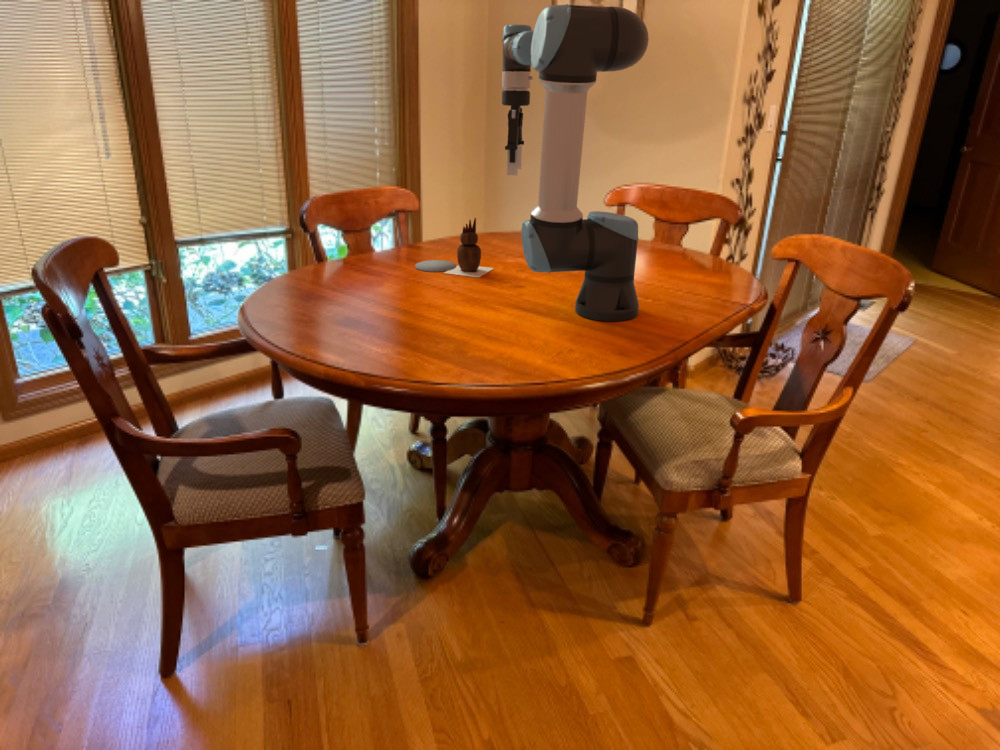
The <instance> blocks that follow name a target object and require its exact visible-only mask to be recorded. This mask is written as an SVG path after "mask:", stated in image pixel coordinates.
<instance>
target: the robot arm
mask: <svg viewBox="0 0 1000 750" xmlns="http://www.w3.org/2000/svg"><path fill="white" fill-rule="evenodd" d="M649 39H650V38H649V31H648V28H647V26H646V23H645V21H644V20H643V19H642V18H641V17H640V16H639V15H638V14H637V13H635V12H633V11H632V10H630V9H628V8H625V7H621V6H599V5H598V6H597V5H578V4H568V3H566V4H553V5H548V6H546V7H545V8H543V9H542V11H541V12H540V13H539V14H538V18H537V20H536V22H535V25H534V29H533V30H532V27H531V26H530V25H529V24H505V26H504V27H503V30H502V39H501V42H502V72H501V88H502V89H503V90H502V92H501V104H502V105H503V106H509V107H510V109H509V110H508V113H507V121H508V122H507V128H508V129H507V144H506V146H505V145H504V150H505V151H507V162H506V163H507V164H506V166H507V168H506V169H507V170H506V173H507V174H506V176H518V170H521V169H522V148H523V146H524V145H525V141H524V140H523V120H524V112H523V107H525V106H527V107H528V106H530V104H531V103H530V102H531V92H530V90H528V89H530V88H531V81H532V80H533V78H534V77H533V76H532V75H531V69H533V70H534V71H536V72H538V81H539V82H540V84H541V85H542V86H543V87H544V91H545V92H544V104H543V105H544V106H543V107H544V108H543V122H542V123H543V124H542V137H541V138H542V140H541V151H540V169H539V186H538V200H537V205H536V206H534V207H533V208H532V209H531V210H530V219H527V220H524V221H523V222H522V224H521V229H520V231H521V233H520V234H521V243H522V245H521V246H522V249H523V250H522V251H523V255H524V259H525V261H526V264H527V266H528V268H529V269H530V270H531V271H532V272H534V273H548V274H551V273H564V272H566V273H567V272H580V271H581V272H582V271H583V272H584V278H583V282H582V283H581V287H580V288H579V291H578V294H577V297H576V298H575V303H574V304H575V306H574V309H575V310H574V312H575V313H576V314H577V315H579V316H581V317H583V318H587V319H590V320H595V321H600V322H601V321H602V322H622V321H623V322H624V321H629V320H632V319H634V318H636V317H637V316H638V315H639V309H640V302H639V300H638V299H639V298H638V294H637V290H636V286H635V272H636V263H637V253H638V242H639V224H638V222H637V220H636V219H635V218H633V217H631V216H627V215H624V214H623V215H622V214H619V213H614V212H608V211H600V210H599V211H597V210H596V211H589V212H588V214H587V217H586V218H587V219H586V218H584V215H583V212H582V211H581V210H580V209H579V207H578V197H579V187H580V186H579V185H580V174H581V166H582V165H581V164H582V154H583V145H584V143H583V141H584V134H585V133H584V132H585V122H586V109H587V99H588V91H590V89H591V88H592V87H593V86H594V85H595V84H596V83H597V74H598V72H603V73H604V72H619V71H622V70H626V69H628V68H630V67H633V66H634V65H636V64H638V63H639V61H640V60H642V58H643V57H645V54H646V52H647V49H648V45H649ZM522 145H523V146H522Z"/></svg>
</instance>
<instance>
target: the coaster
mask: <svg viewBox="0 0 1000 750" xmlns="http://www.w3.org/2000/svg"><path fill="white" fill-rule="evenodd" d="M456 266H457V265H456V263H454V262H452V261H448V260H443V259H442V260H438V259H434V260H433V259H432V260H424V261H420V262H417V263H416V264H414V267H415V269H416V270H418V271H422V272H429V273H440V272H443V273H444V272H446V271H448V270H451V269H454V268H455V267H456Z"/></svg>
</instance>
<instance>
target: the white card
mask: <svg viewBox="0 0 1000 750" xmlns="http://www.w3.org/2000/svg"><path fill="white" fill-rule="evenodd" d="M494 269H495V268H494V267H488V266H480V265H479V267H478V269H477V270H476V271H472V272H466V271H463V270H461V269H460V267H459V264H458V265H456V267H455V268H454V269H451V270H448V271H443V274H447V275H456V276H462V277H463V276H464V277H472V278H480V277H482V276H484V275H486V274H487V273H489V272H491V271H492V270H494Z"/></svg>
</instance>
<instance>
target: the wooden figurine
mask: <svg viewBox="0 0 1000 750" xmlns="http://www.w3.org/2000/svg"><path fill="white" fill-rule="evenodd" d="M459 239H460V240H459V241H460V243H461V244H459V246H458V247H457V251H456V257H457V263H458V265H459V267H460V269H461V270H463V271H466V272H472V271H476V270H477V269H478V267H479V266H480V264H481V259H482V251H481V249H482V248H481V247H480V246H479V245H478V244H477V243H478V240H479V236H478V233H477V218H476V217H474V220H473V224H472V220H471V219H469V222H468V223H466V224H465V226H463V227H462V232H461V233H460V237H459Z"/></svg>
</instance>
